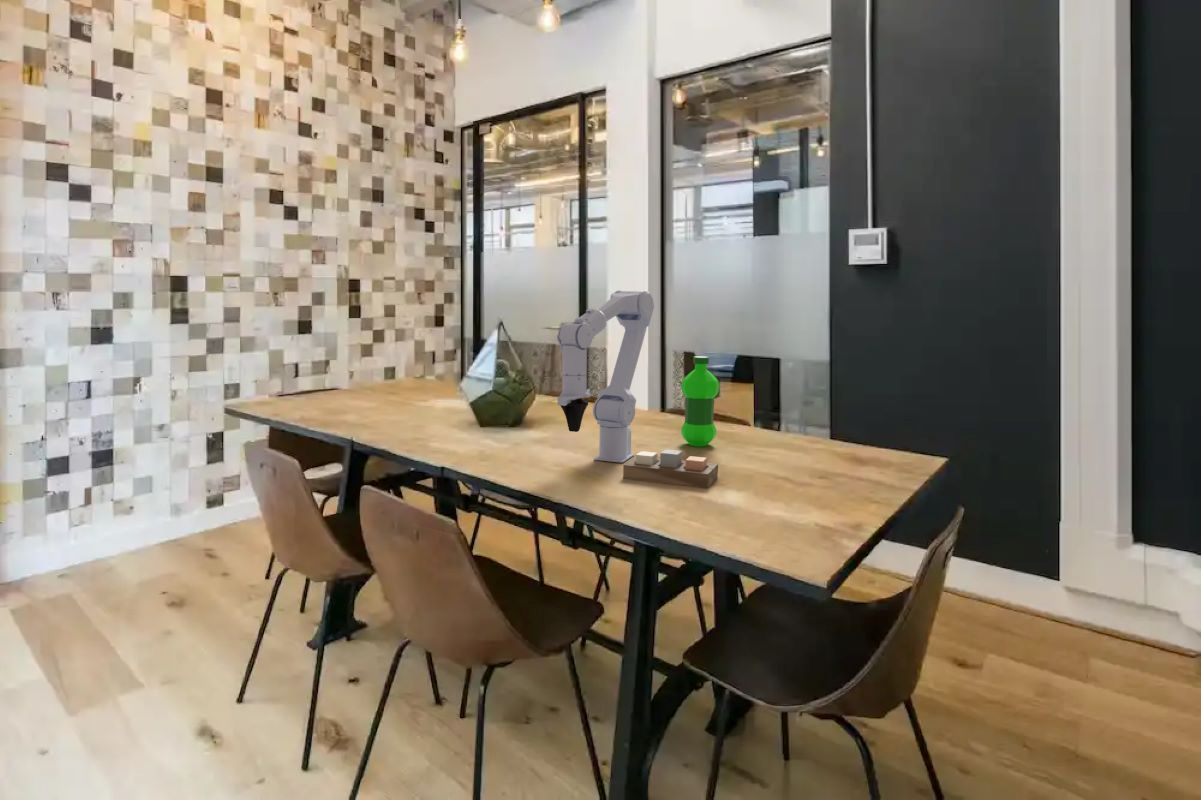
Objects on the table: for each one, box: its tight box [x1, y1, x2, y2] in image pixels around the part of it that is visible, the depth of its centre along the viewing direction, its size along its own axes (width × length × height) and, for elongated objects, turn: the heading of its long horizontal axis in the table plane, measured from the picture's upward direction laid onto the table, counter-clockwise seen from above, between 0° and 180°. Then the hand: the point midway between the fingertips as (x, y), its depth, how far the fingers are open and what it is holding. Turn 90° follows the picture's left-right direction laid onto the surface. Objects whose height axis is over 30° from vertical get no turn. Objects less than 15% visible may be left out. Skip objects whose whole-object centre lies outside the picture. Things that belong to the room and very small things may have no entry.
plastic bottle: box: [680, 355, 720, 447], centre depth 201 cm, size 10×10×25 cm
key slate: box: [659, 449, 683, 468], centre depth 166 cm, size 4×4×4 cm
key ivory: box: [635, 450, 658, 465], centre depth 168 cm, size 4×4×4 cm
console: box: [622, 456, 719, 489], centre depth 167 cm, size 10×20×3 cm, turn 68°
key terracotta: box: [685, 455, 708, 471], centre depth 164 cm, size 4×4×4 cm
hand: (574, 431), depth 170 cm, fingers closed
